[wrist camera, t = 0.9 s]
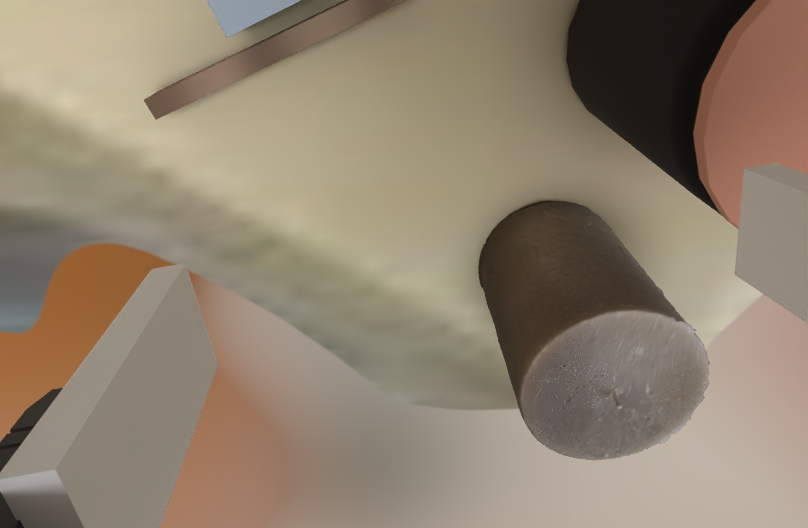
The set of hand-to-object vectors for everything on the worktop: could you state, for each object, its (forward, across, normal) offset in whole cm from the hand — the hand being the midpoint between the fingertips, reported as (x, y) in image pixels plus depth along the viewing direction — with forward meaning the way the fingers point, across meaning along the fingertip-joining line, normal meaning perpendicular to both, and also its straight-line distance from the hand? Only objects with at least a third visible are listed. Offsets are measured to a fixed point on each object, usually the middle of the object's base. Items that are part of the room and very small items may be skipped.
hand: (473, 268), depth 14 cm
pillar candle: (+25, +9, -12) cm, 29 cm away
